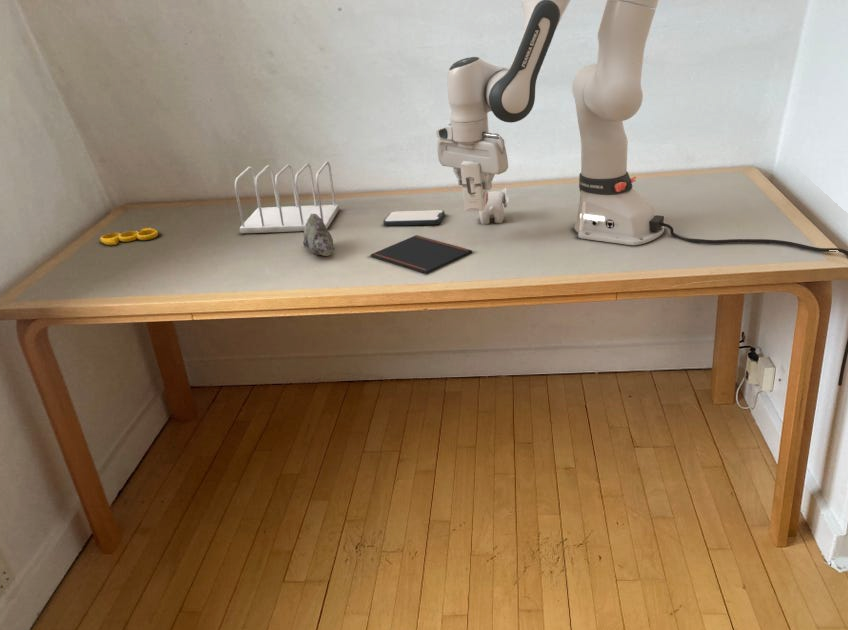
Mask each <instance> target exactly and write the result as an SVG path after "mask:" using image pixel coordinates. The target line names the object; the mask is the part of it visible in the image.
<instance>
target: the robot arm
mask: <svg viewBox="0 0 848 630" xmlns="http://www.w3.org/2000/svg"><path fill="white" fill-rule="evenodd" d="M570 2H571V0H521V3H522V8H523V13H524V28H523V33H522V36H521V38H520V41H519V44H518V46H517V48H516V52H515V54H514V56H513V59H512V61H511V64H510V66H509V68H507V67H501V66H497V65H494V64H491V63H489V62H487V61H485V60H483V59H481V58H480V57H478V56H471V57H464V58H462V59H460V60H457V61H455V62H453V64H451V65H450V67H449V68H448V71H447V72H448V73H447V98H448V104H449V106H450V123H449V124H448V125H447V124H446V125H445V126H442V127H440V128H438V129H436V133H435V134H436V137H437V138H438V140H437V146H436V147H437V159H438V161H439V163H440V165H441V166H442V167H449V168H452V170H453V173H454V175H455V177H456V179H457V184H458V186H462V176H461V166H460V165H461V164H462V162H463V161H470V162H476V163H479V164H480V172H484V173H485V177H486V180H485V182H483V183H482V184H483V189H484V190H488V191H490V190H492V188H493V184H492V182H493V180H494V178H495V175H501V174H503V173H505V172H507V171H508V169H509V159H508V153H507V148H506V145H505V144H506V143H505V140H504V138H503V137H502V136H501V135H500V134H499V133H491V132H489V119H488V114H489V112H492V113H493V115H494V116H495V117H496V118H497V119H498V120H499V121H502V122H504V123H517V122H520V121H522V120H524V119H525V118H526V117H528V115H529V114H530V113H531V111H532V110H533V107H534V105H535V102H536V101H535V100H536V85H537V79H538V77H539V73H540V71H541V68H542V66H543V63H544V60H545V58H546V55H547V53H548V50H549V48H550V45H551V43H552V41H553V38H554V35H555V33H556V30H557V28H558V27H559V24H560V22H561V20H562V19H563V15H564V14H565V12H566V10H567V8H568V7H569V4H570ZM658 4H659V0H606V4H605V7H604V9H603V10H604V11H603V14H602V17H601V21H600V24H599V28H598V31H597V41H598V48H597V49H598V53H597V63H593V64H592V63H591V64H588V65H585V66H583V67H581V68H580V69H579V70H578V71H577V72H576V73H575V75H574V76H573V79H572V82H571V93H572V95H573V99H574V103H575V110H576V118H577V124H578V129H579V136H580V137H579V138H580V173H579V176H578V189H579V194H580V195H579V204H578V208H577V209H578V212H577V216H576V219H575V223H574V226H573V229H574V230H575V232H576V233H577V237H578V238H579V239H584V240H591V241H597V242H598V241H599V242H604V243H605V242H606V243H612V244H620V245H627V246H638V245H639V246H640V245H643V244H647V243H649V242H652V241H654V240H656V239H657V238H659V237H661V236H662V235H663V234H664V232H665V228H667V229H668V230H669V232H670V235H671V236H672V237H673V238H675V239H679V240H682V241H685V242H689V243H700V244H732V243H734V244H735V243H740V244H741V243H743V244H747V243H749V244H750V243H757V244H758V243H759V244H761V243H762V244H778V245H785V246H791V247H795V248H800V249H805V250H808V251H809V250H810V251H814V252H822V253H837V252H836V251H829V250H838V251H839V252H838V253H840V254H841V253H842V254H844V255H845V256H847V257H848V250H846V249H843V248H841V247H840V248H839V247H827V248H826V247H816V246H811V245H806V244H802V243H797V242H793V241H788V240H781V239H780V240H779V239H770V238H769V239H766V238H765V239H764V238H732V239H730V238H729V239H702V238H687V237H682V236H679V235H678V234H676V233H675V232H674V231H675V230H674V227H673V226H672V225H670V224H669V223H665V221H664V220H665V215H660V214H659V215H657V214H656V213H655V210H654V207H653V206H652V205H651V203H649V202H648V201H647V200H646V199H645V198H644V197H642V195H641V194H640V193H638V192H637V191H636V190H635V189H634V188H633V187H634V185H633V183H635V182H637V180H636V179H637V176H633V177H630V174H629V172H628V170H627V169H628V137H627V134H626V131H625V127H624V122H625V121H627V120H630V119H631V118H633V117H634V116H635V115H636V114H637V113H638V112H639V110H640V108H641V106H642V103H643V98H644V97H643V96H644V95H643V89H642V73H643V63H644V55H645V49H646V43H647V40H648V37H649V34H650V31H651V27H652V24H653V20H654V17H655V14H656V10H657V7H658ZM842 356H843V357H842V361H841V365H840V371H839V376H838V382H837V386H838V387H842V385H843V379H844V373H845V368H846V363H847V358H848V338H847V339H846V344H845V348H844V353H843V355H842Z"/></svg>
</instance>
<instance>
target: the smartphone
mask: <svg viewBox="0 0 848 630" xmlns="http://www.w3.org/2000/svg"><path fill="white" fill-rule="evenodd" d="M445 215H446V214H445V210H443V209H435V210H433V209H431V210H402V211H401V210H400V211H391V212H389V213H388V214H387V216H386V217H385V218H384V219H383V225H384V226H385V227H395V226H429V225H431V226H432V225H434V226H435V225H439V224H440V223H441V222H442V220H443V219H444V217H445Z"/></svg>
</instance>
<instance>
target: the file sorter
mask: <svg viewBox="0 0 848 630" xmlns="http://www.w3.org/2000/svg"><path fill="white" fill-rule="evenodd" d="M292 167H293V166H292V165H291V164H290V163H287V164H286V165H285V166H284V167H283V168H281V170H279V171H278V172H277V173H276V174H275V177H274V173H273V168H272V166H271V164H267V165H266V166H264V167H263V168H262V169H261V170H260V171H259V172H258V174H256V173H255V170H254V168H253V167H252V166H248V167H246V169H244V170H243V171H242V172H241V173H240V174H239V175H238V176H237V177H236V178H235V180H234V192H235V197H236V201H237V207H238V212H239V217H240V222H241V226H240V227H239V233H240V234H264V233H266V234H267V233H291V232H304V228H305V224H306V223H307V220H308V218H309V217H310V214H317V215H318V216H319V217H320V218H321V219H322V220H323V222H324V225H325V227H326V229H327V230H328V228H329V226H330V225H331V223H332V222H333V220H334V218H335V217H336V216H337V213H338V212H339V211H340V206H339V204H337V203H336V198H335V190H334V182H333V175H332V174H333V173H332V168H331V164H330V162H329V161H328V160H327V161H325V162H324V163H323V164H322V166H321V167H320V168H319V169H318V170H317V171H316V174H315V182H314V177H313V176H314V175H313V171H312V166H311V164H310V163H308V162H307V163H305V164H304V165H303V166H302V167H301V168H300V169H299V170H298V171H297V172H296V173H295V176H294V172H293V168H292ZM307 167H308V170H309V177H310V183H311V184H310V185H311V190H312V198H313V204H314V205H312V204H311V205H310V204H309V205H301V199H300V193H299V186H298V177H299V175H300V174H301V173H302V172H303V171H304V170H305V169H306V168H307ZM325 167H327V168H328V174H329V180H330V181H329V182H330V190H331V197H332V204H322V201H321V194H320V187H319V185H320V184H319V177H320V176H319V175H320V174H321V173H322V171H323V170H324V169H325ZM288 168H289V171H290V177H291V182H292V183H291V184H292V191H293V197H294V202H295V205H288V206H287V205H286V206H282V204H281V198H280V193H279V185H278V178H279V176H280V175H282V174H283V172H285V170H287V169H288ZM267 169H269V172H270V178H271V183H272V186H273V192H274V197H275V203H276V206H267V207H265V206H264V207H262V203H261V197H260V191H259V184H258V180H259V177H260V176H262V174H264V172H265V171H266V170H267ZM249 170H250V171H251V174H252V179H253V185H254V190H255V195H256V201H257V206H258V207H257V208H256V209H255V210H254V211H253V212H252V213H251V215H250V216H249V217H248V218H247V219H246V220H244V216H243V210H242V205H241V201H240V196H239V190H238V183H239V182H238V181H239V180H240V179H241V178H242V177H243V176H244V175H245V174H246V173H248V171H249ZM314 183H315V184H314ZM315 185H316V187H315ZM315 188H316V191H315ZM316 193H317V198H316ZM317 200H318V204H317Z"/></svg>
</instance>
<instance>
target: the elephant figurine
mask: <svg viewBox="0 0 848 630" xmlns="http://www.w3.org/2000/svg"><path fill="white" fill-rule="evenodd" d="M509 201H510V198H509V195H508V191H507V187H506V186H505V187H504V188H502V190H494V191H488V202H487V204H486V206H485V208H484V210H483V211H478V215H479V221H480V223H481V224H482V225H489V224H490V222H491V220H490V217H491V216H493V219H494V221H493V223H496V224H502V223H503V222H504V217H505V213H504V208H505V209H506V208H508V202H509Z"/></svg>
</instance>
